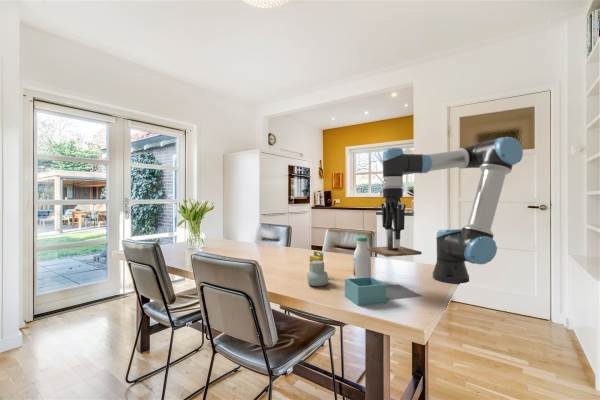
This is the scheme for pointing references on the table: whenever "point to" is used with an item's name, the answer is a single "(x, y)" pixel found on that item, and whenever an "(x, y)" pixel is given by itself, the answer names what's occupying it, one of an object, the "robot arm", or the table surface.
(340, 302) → the table surface
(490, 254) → the robot arm
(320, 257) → the crayon box
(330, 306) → the table surface
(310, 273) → the air freshener
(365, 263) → the milk bottle
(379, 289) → the teal storage bin
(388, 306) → the table surface
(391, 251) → the lid
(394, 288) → the mat
